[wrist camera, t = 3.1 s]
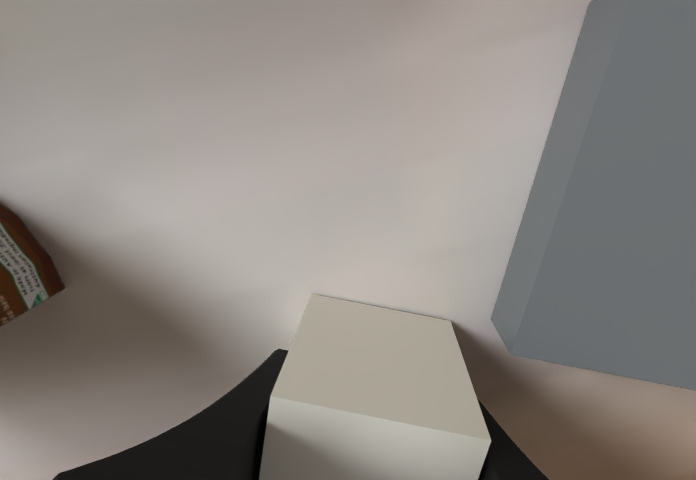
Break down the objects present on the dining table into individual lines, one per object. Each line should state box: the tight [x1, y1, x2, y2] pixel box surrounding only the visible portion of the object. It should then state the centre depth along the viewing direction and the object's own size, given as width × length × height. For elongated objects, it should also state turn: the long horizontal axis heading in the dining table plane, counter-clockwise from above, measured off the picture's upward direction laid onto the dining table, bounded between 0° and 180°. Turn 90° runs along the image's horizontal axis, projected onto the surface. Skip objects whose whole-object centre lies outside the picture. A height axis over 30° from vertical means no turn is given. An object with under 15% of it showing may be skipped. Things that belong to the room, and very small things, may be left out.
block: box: [259, 294, 491, 480], centre depth 11 cm, size 4×4×5 cm
